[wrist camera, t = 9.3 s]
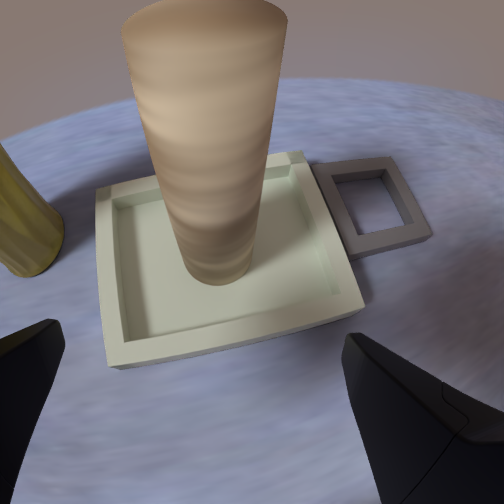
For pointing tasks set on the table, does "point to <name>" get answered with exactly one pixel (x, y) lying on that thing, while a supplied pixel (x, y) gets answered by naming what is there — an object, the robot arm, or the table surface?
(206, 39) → the dowel
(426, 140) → the table surface
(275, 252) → the tray
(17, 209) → the vase
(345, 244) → the holder
